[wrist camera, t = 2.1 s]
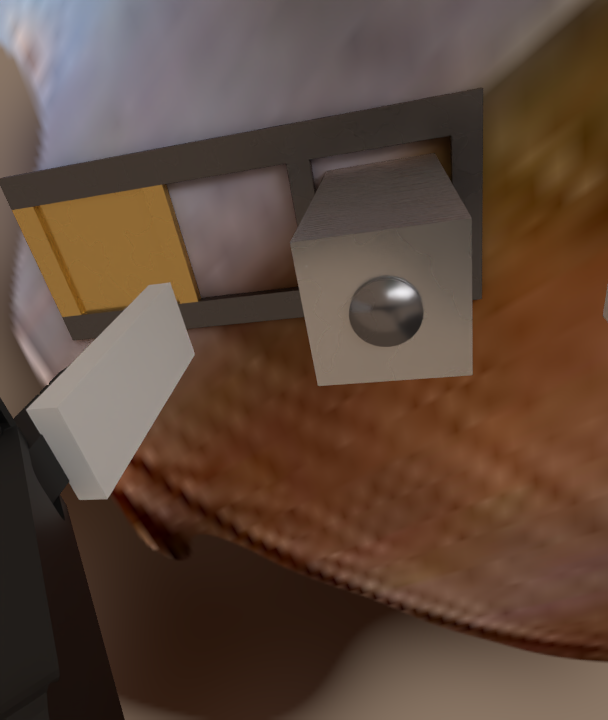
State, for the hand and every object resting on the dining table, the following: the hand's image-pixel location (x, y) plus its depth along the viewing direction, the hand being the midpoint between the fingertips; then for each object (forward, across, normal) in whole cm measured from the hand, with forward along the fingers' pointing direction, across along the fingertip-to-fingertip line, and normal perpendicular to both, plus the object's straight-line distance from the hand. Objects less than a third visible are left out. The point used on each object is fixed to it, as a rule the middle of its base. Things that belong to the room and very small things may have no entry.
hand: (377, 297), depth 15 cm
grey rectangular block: (+11, 0, 0) cm, 11 cm away
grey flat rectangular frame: (+11, +7, 0) cm, 13 cm away
